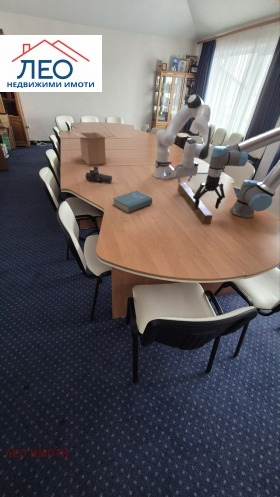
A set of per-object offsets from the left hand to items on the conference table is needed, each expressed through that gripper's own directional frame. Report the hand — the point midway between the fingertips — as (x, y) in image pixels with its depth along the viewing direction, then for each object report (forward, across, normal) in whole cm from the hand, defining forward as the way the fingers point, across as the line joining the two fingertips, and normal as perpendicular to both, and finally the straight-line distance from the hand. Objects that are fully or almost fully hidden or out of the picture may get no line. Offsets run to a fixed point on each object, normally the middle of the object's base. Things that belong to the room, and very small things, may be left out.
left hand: (183, 181), depth 174 cm
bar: (+9, -5, -20) cm, 23 cm away
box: (+10, -41, +105) cm, 113 cm away
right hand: (+2, -12, -41) cm, 43 cm away
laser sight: (+10, -55, +46) cm, 72 cm away
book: (+10, -47, -6) cm, 48 cm away
